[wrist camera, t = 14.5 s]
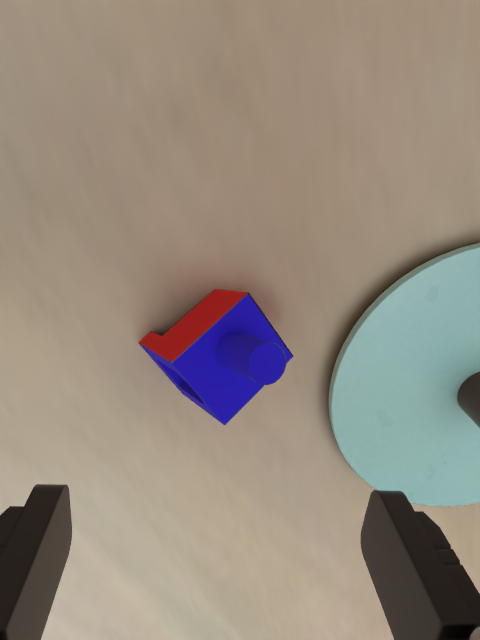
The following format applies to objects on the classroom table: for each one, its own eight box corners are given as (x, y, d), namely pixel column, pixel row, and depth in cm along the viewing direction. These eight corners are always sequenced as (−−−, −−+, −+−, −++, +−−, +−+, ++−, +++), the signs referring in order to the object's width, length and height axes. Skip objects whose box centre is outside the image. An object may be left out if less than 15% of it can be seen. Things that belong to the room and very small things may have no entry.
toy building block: (240, 339, 24) (334, 369, 17) (182, 394, 23) (257, 450, 16) (201, 288, 23) (285, 296, 15) (137, 343, 21) (197, 379, 14)
